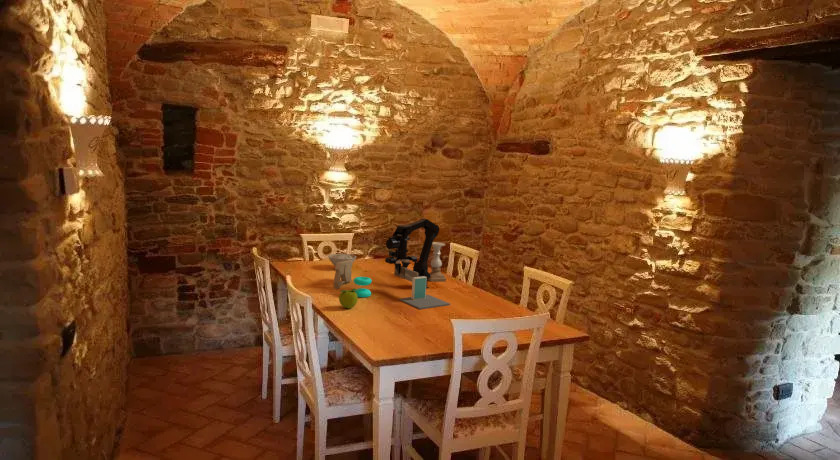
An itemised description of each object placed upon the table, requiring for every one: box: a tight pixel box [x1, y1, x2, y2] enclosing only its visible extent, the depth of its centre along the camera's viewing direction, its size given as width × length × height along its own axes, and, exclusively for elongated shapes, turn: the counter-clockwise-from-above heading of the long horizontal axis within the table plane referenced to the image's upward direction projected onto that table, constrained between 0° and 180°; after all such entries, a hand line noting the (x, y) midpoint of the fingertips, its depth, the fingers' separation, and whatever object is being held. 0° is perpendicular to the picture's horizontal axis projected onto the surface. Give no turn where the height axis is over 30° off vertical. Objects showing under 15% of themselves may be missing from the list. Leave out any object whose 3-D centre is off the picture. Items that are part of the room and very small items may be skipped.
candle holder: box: [428, 241, 447, 283], centre depth 342 cm, size 11×11×24 cm
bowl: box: [327, 253, 357, 267], centre depth 359 cm, size 19×19×10 cm
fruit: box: [338, 288, 359, 309], centre depth 269 cm, size 9×9×10 cm
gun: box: [333, 260, 354, 290], centre depth 316 cm, size 24×3×15 cm, turn 168°
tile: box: [411, 276, 427, 300], centre depth 290 cm, size 8×2×12 cm, turn 125°
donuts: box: [353, 276, 373, 298], centre depth 293 cm, size 10×10×10 cm
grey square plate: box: [398, 294, 451, 310], centre depth 287 cm, size 20×20×1 cm
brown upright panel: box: [393, 265, 418, 282], centre depth 300 cm, size 2×22×6 cm, turn 35°
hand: (400, 274), depth 305 cm, fingers closed on brown upright panel, 2 cm apart
